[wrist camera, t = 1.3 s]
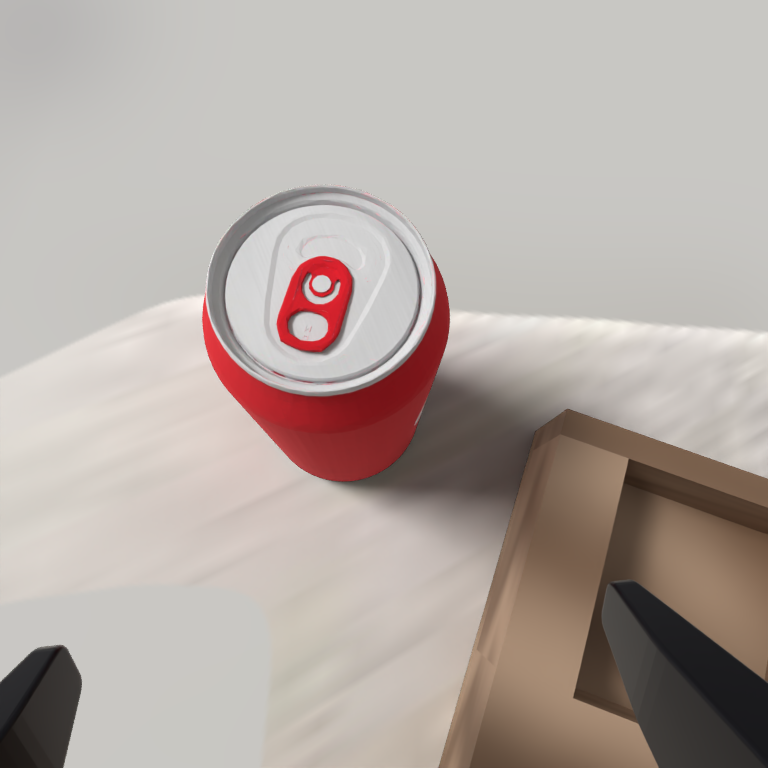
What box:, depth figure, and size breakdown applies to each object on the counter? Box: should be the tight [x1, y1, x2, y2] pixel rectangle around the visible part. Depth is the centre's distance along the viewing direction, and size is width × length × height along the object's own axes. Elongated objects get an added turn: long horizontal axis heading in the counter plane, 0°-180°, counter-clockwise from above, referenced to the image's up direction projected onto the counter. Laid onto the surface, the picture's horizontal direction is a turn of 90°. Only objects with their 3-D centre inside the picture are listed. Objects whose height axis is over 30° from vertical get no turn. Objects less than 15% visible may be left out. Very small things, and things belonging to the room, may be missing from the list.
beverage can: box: [202, 185, 450, 481], centre depth 18 cm, size 6×6×12 cm
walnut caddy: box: [439, 409, 768, 768], centre depth 19 cm, size 15×13×4 cm
